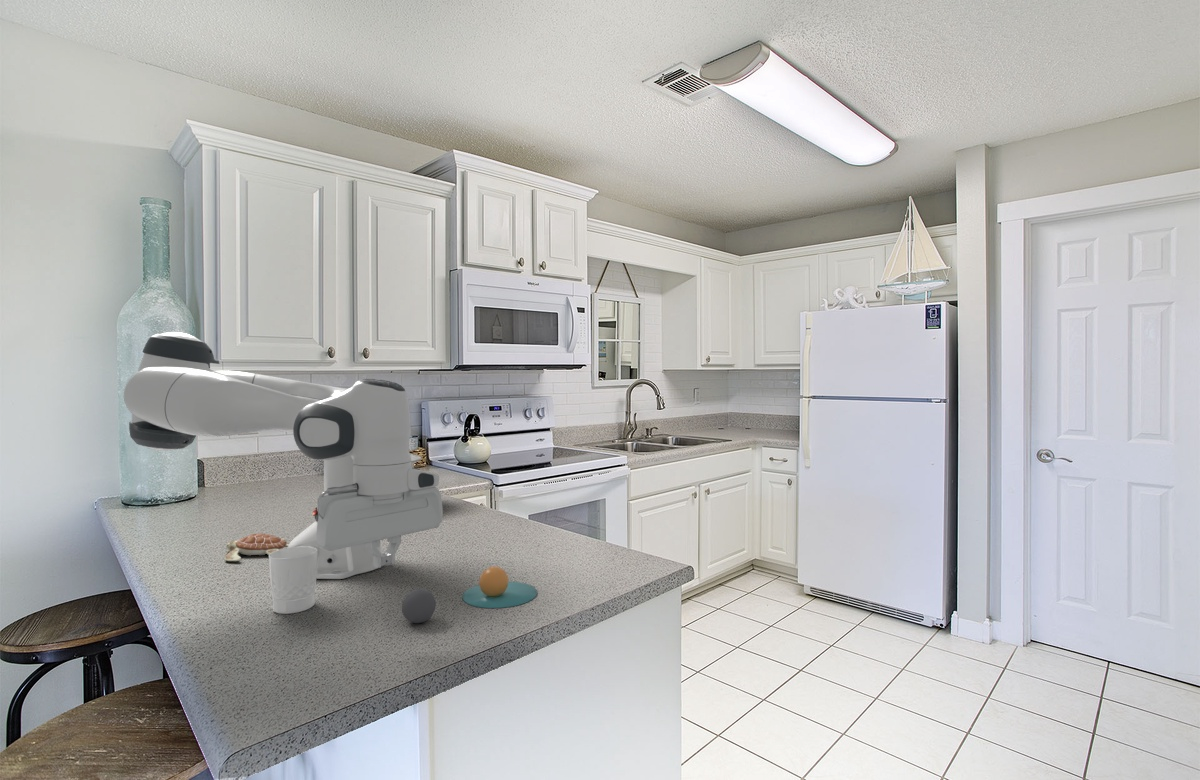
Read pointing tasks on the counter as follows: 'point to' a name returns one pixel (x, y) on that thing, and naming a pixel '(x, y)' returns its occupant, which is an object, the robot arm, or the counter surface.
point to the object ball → (493, 581)
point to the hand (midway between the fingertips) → (383, 565)
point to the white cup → (293, 578)
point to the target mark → (501, 596)
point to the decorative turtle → (254, 546)
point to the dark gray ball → (418, 606)
